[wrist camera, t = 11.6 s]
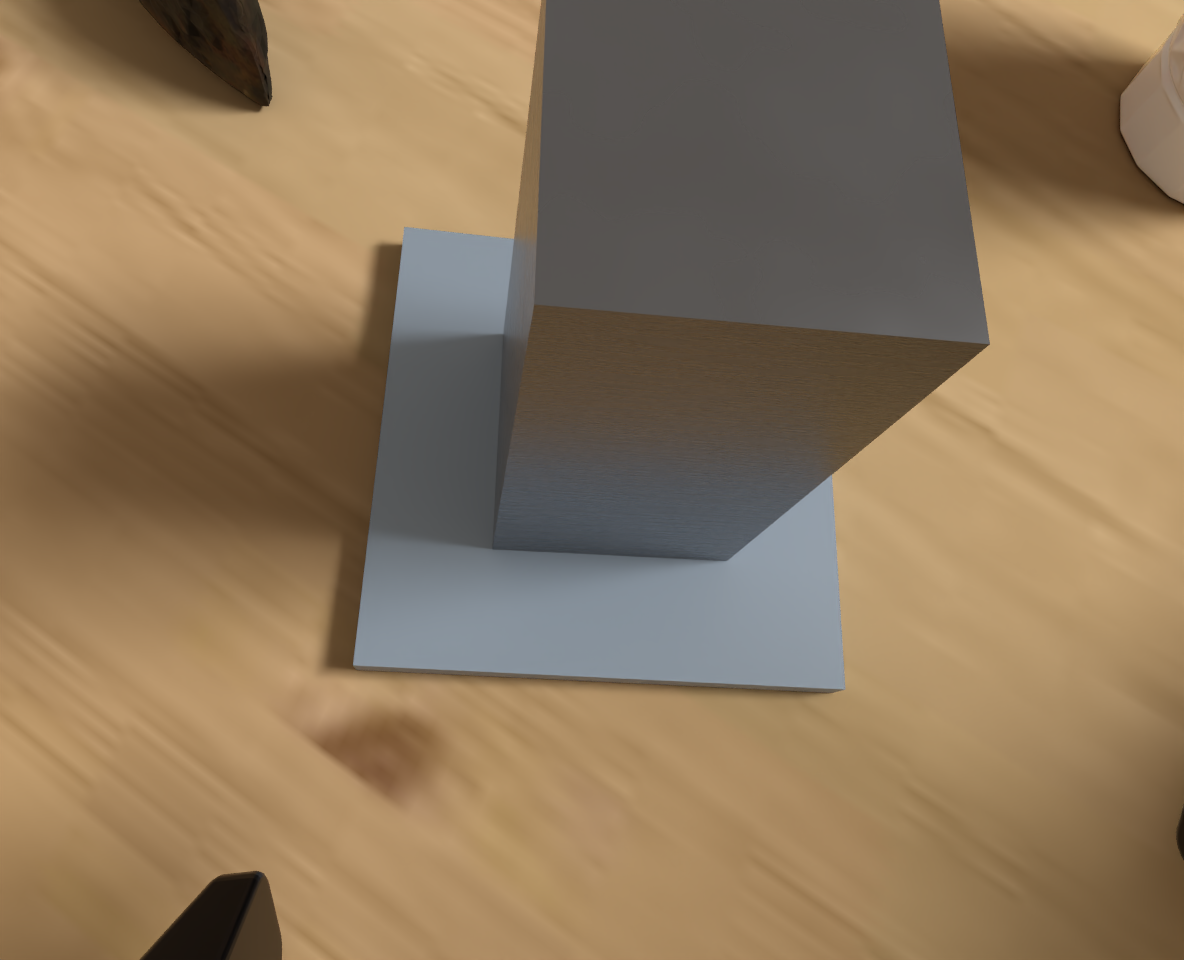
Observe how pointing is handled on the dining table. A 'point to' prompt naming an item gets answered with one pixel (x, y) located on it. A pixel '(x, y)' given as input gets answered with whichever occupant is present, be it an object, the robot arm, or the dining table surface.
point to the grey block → (724, 265)
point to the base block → (545, 579)
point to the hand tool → (221, 39)
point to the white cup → (1158, 115)
